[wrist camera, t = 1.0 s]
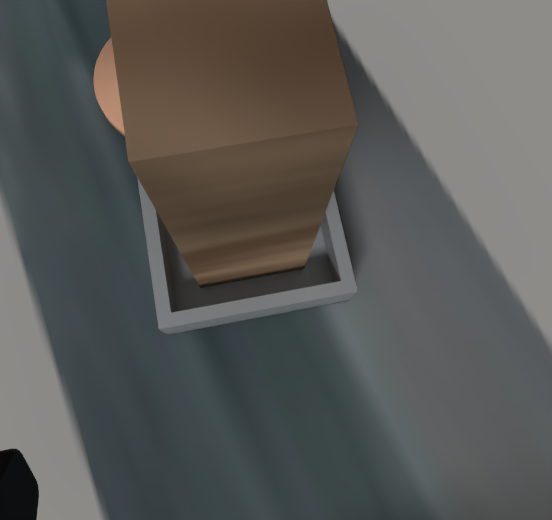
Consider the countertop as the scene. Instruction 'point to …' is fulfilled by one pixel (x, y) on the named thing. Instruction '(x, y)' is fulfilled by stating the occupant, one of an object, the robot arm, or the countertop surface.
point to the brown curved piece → (108, 87)
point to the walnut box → (234, 125)
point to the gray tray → (246, 293)
